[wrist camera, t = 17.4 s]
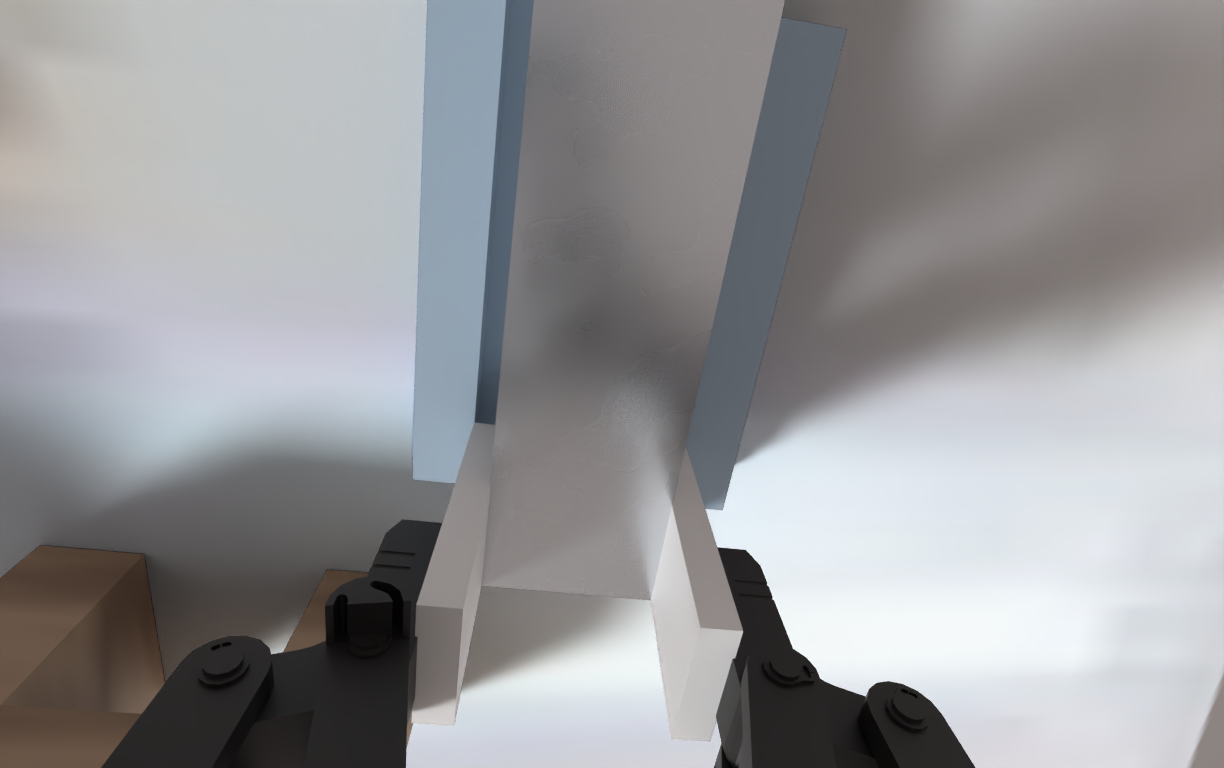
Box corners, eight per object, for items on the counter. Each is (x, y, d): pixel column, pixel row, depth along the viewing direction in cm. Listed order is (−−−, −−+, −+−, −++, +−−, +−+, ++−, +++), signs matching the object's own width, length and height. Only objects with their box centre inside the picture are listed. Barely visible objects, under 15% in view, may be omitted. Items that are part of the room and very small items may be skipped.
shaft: (563, -155, 13) (557, -257, 9) (759, -115, 13) (829, -197, 10) (499, 490, 19) (480, 585, 15) (637, 503, 19) (651, 600, 15)
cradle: (437, -31, 14) (417, -50, 13) (824, 39, 15) (858, 31, 14) (420, 442, 19) (403, 478, 17) (717, 473, 20) (731, 511, 18)
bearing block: (39, 545, 20) (-244, 780, 13) (422, 577, 21) (348, 808, 14) (73, 687, 22) (-151, 950, 15) (416, 709, 23) (350, 962, 17)
